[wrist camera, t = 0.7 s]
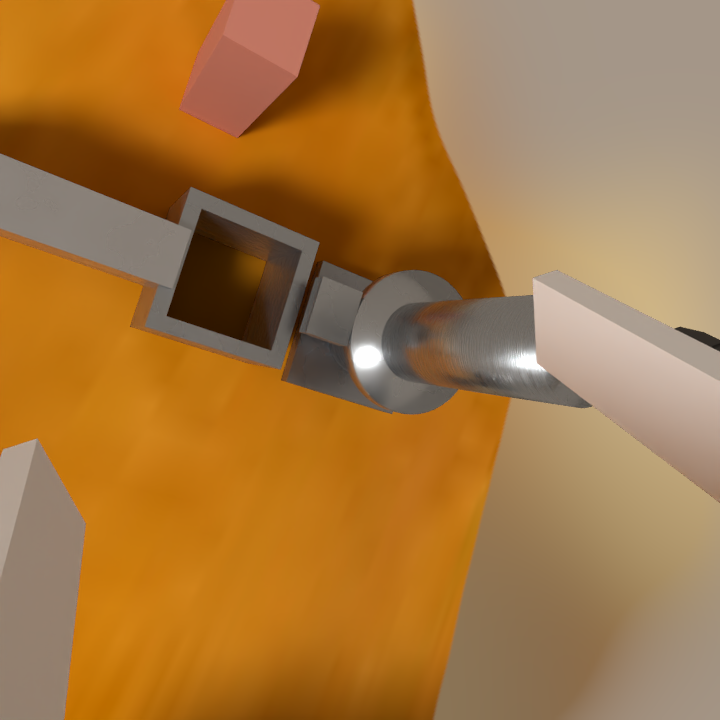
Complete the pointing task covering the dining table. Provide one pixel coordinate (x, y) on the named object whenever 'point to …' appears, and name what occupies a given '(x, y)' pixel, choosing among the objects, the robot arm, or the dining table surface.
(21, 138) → the dining table surface
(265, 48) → the wedge pin
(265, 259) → the bracket
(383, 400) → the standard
